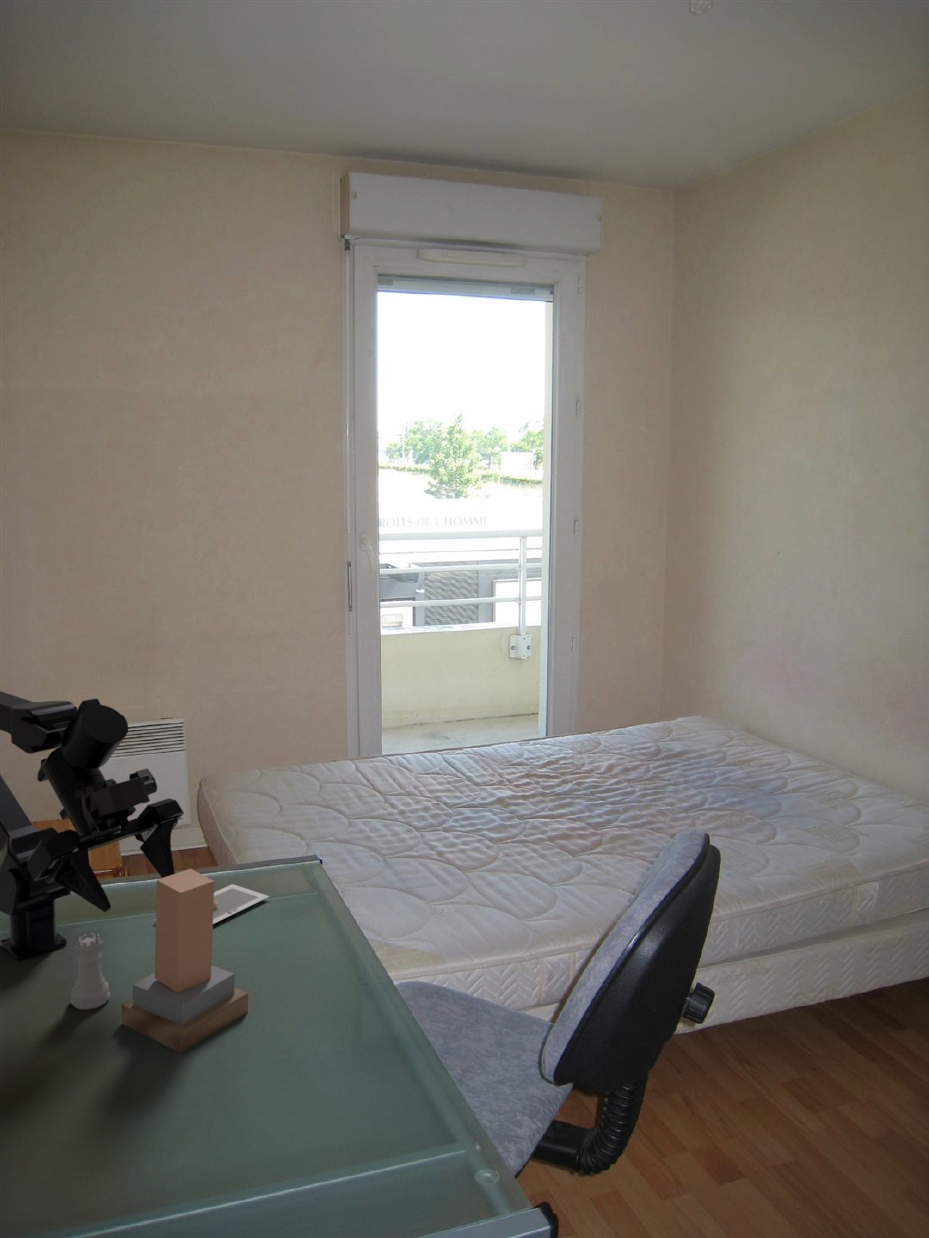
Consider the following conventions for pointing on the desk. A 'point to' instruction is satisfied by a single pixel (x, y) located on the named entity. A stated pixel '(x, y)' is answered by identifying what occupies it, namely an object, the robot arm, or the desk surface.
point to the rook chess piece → (89, 975)
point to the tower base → (191, 1031)
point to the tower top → (183, 996)
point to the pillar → (184, 929)
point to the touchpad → (233, 901)
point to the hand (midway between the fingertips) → (141, 896)
